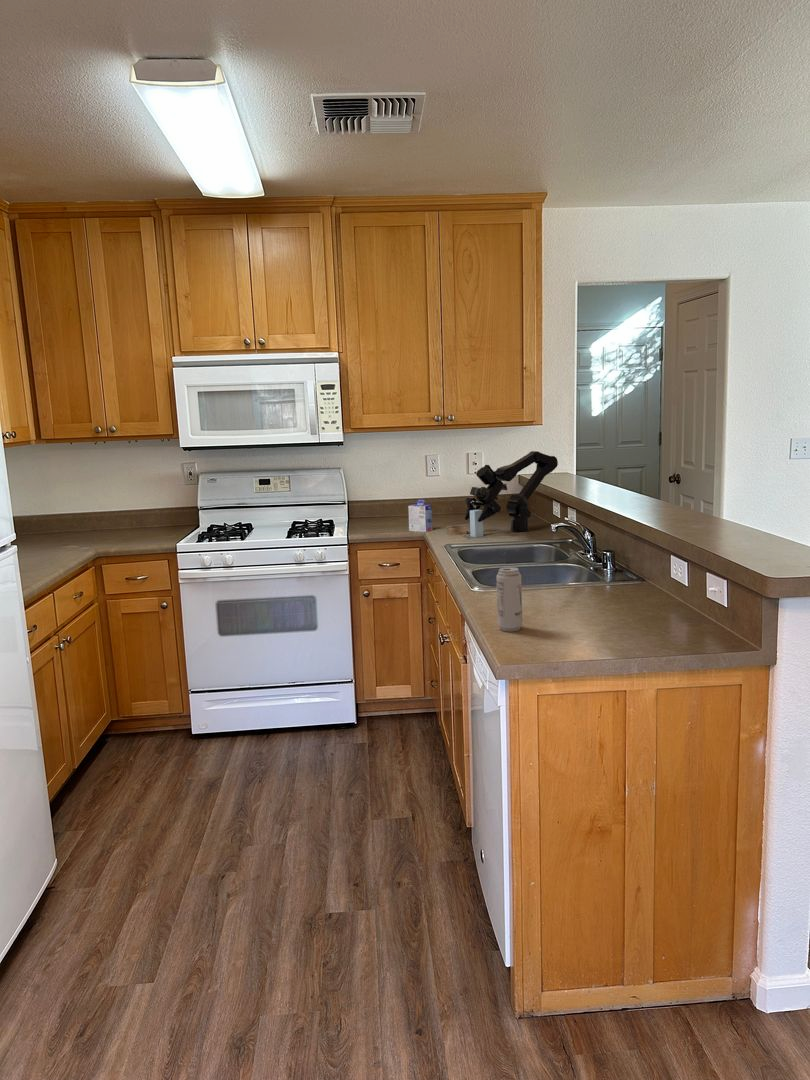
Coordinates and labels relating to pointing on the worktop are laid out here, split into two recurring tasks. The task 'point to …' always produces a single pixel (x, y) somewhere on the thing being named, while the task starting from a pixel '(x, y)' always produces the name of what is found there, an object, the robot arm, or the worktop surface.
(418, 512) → the ink cartridge box
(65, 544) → the worktop surface
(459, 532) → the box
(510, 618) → the energy drink can
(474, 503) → the robot arm
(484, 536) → the mat
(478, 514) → the pale blue rectangular block
